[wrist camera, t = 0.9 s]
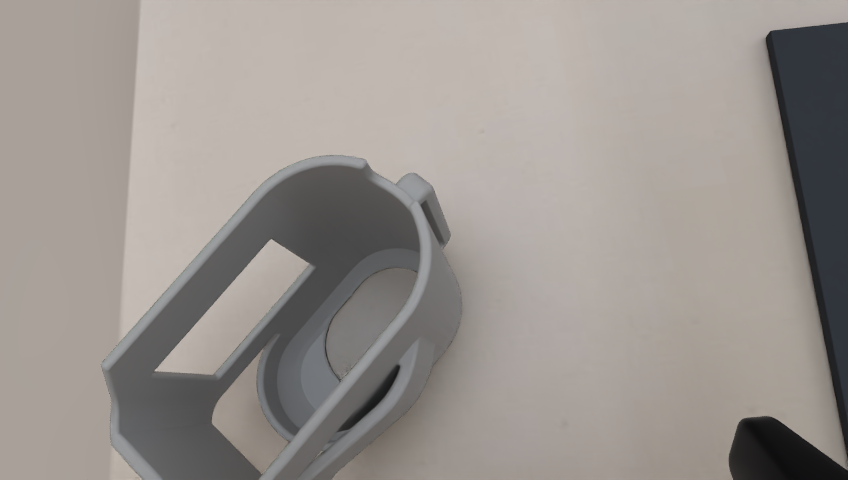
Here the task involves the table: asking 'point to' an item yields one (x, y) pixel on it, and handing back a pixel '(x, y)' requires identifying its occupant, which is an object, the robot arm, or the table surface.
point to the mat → (820, 170)
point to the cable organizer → (292, 329)
